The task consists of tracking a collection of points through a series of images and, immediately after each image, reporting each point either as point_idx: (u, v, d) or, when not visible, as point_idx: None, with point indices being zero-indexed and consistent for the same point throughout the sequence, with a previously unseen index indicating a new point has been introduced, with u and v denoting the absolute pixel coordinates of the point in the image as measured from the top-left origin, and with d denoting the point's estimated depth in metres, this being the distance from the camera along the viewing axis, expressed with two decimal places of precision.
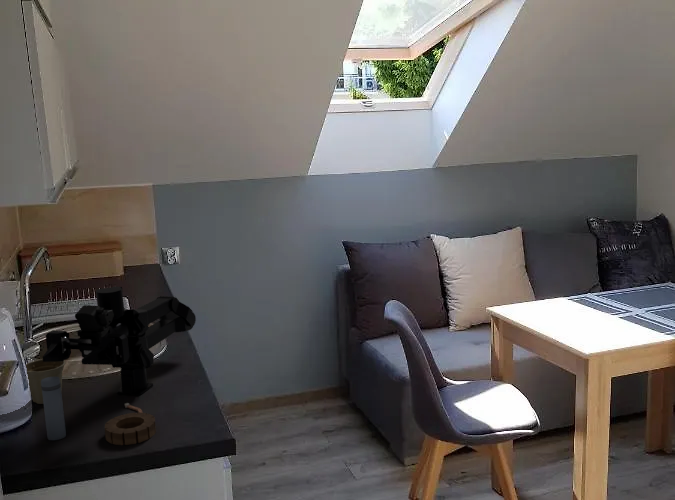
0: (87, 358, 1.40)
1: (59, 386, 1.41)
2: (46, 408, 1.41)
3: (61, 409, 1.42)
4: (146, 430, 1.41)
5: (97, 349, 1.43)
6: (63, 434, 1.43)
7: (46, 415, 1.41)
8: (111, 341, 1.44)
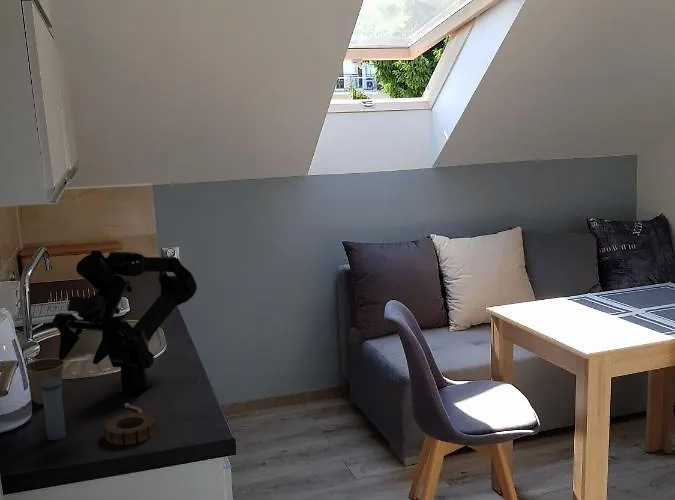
0: (97, 358, 1.47)
1: (59, 386, 1.41)
2: (46, 408, 1.41)
3: (61, 409, 1.42)
4: (146, 430, 1.41)
5: (102, 344, 1.48)
6: (63, 434, 1.43)
7: (46, 415, 1.41)
8: (111, 332, 1.47)
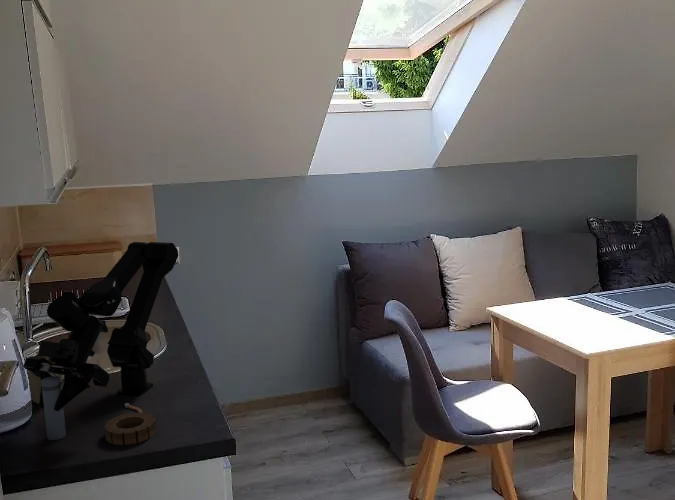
0: (58, 405, 1.41)
1: (59, 386, 1.42)
2: (46, 408, 1.41)
3: (61, 409, 1.42)
4: (146, 430, 1.41)
5: (64, 389, 1.41)
6: (63, 434, 1.43)
7: (46, 415, 1.41)
8: (73, 378, 1.41)
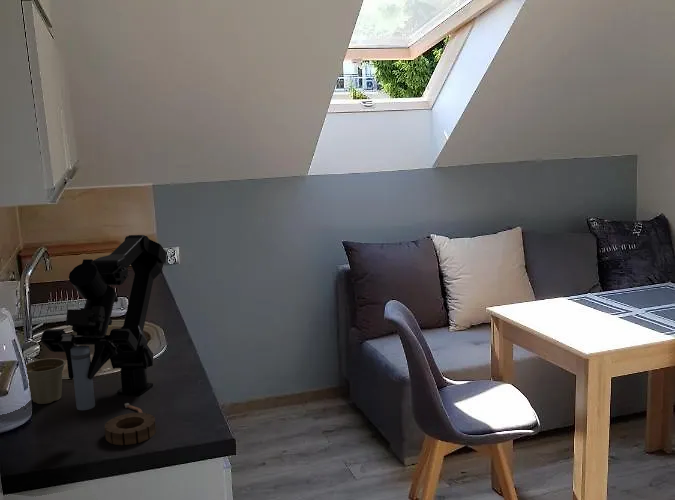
0: (92, 373, 1.39)
1: None
2: (78, 377, 1.38)
3: None
4: (146, 430, 1.41)
5: (96, 357, 1.40)
6: (94, 403, 1.41)
7: (77, 385, 1.39)
8: (105, 344, 1.40)
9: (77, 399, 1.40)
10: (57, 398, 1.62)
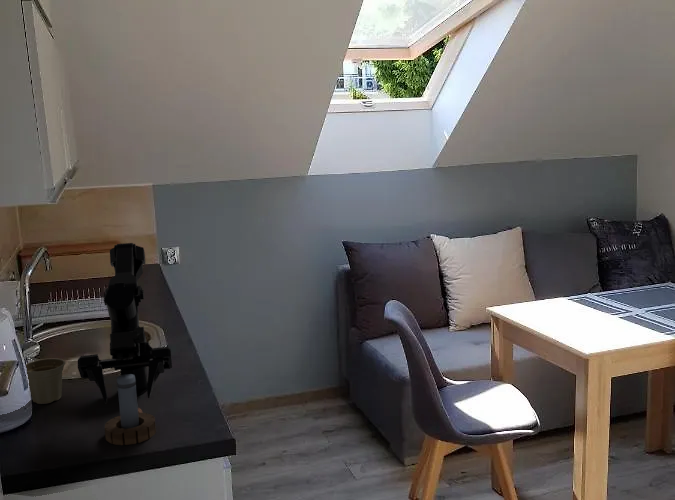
0: (150, 391, 1.42)
1: None
2: (127, 405, 1.41)
3: None
4: (146, 430, 1.41)
5: (151, 376, 1.43)
6: None
7: (126, 414, 1.41)
8: (159, 362, 1.44)
9: (125, 427, 1.42)
10: (57, 398, 1.62)
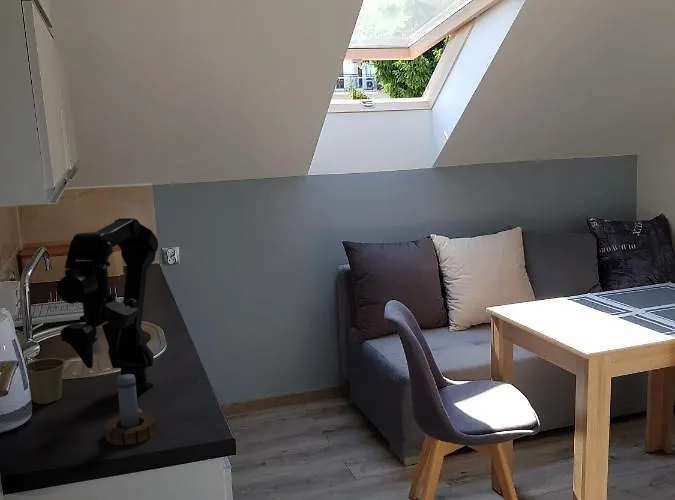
0: None
1: None
2: (127, 405, 1.41)
3: None
4: (146, 430, 1.41)
5: (119, 335, 1.55)
6: None
7: (126, 413, 1.41)
8: None
9: (125, 427, 1.42)
10: (57, 398, 1.62)
